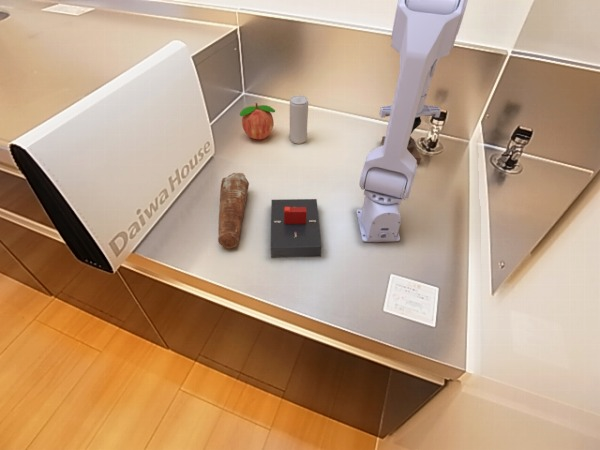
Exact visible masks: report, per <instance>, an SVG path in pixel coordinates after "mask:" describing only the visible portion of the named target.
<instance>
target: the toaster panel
mask: <svg viewBox="0 0 600 450" xmlns="http://www.w3.org/2000/svg"><path fill="white" fill-rule="evenodd" d="M270 204H271V206H270V208H271V209H270V258H304V257H305V258H308V257H309V258H311V257H312V258H313V257H314V258H315V257H322V248H323V247H322V238H321V237H322V236H321V229H320V220H319V208H318V199H317V198H296V199H295V198H291V199H282V198H281V199H280V198H279V199H271V203H270ZM284 207H306V224H284Z"/></svg>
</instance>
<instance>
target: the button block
mask: <svg viewBox="0 0 600 450" xmlns="http://www.w3.org/2000/svg"><path fill="white" fill-rule="evenodd" d="M385 136H386V135H383V136H381V143H380V144H381V146H382V145H384V141H385ZM409 141H410V142H409V145H408V146H407V150H408V151H409V152H410V153H411V154H412V155H413V157H414V158H415V159H416V160H417V166H418V165H420V162H421V159H422V157H421V155H420V153H419V151H418V148H417V146H416V141H415V139H414V138H413V137H412V135H410V139H409Z"/></svg>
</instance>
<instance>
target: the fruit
mask: <svg viewBox="0 0 600 450" xmlns="http://www.w3.org/2000/svg"><path fill="white" fill-rule="evenodd" d="M275 112H276V109H274V108H273V107H271V106H270V105H267V104H266V105H265V104H258V102H255V104H254V105H251V106H250V105H249V106H247V107H245V108H243V109H241V111H240V112H239V116H240V117H242V118H241V125H242V129H243V131H244V133H245V134H246V135H247V136H248V137H249V138H251V139H253V140H264V139H265V138H267V137H269V136H270V135H271V133H272V132H273V129H274V117H273V115H272V113H275Z"/></svg>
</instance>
